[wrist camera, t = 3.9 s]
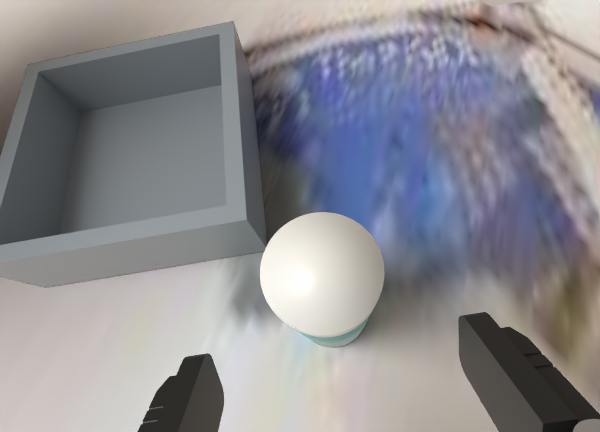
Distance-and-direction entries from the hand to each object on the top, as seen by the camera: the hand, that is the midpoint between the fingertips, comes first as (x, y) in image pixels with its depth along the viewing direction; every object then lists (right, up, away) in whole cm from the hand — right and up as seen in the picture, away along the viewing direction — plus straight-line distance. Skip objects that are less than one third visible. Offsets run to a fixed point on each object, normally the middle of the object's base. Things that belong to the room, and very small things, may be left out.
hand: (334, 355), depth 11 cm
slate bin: (-13, +8, +19) cm, 25 cm away
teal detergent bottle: (+1, -2, +12) cm, 12 cm away
